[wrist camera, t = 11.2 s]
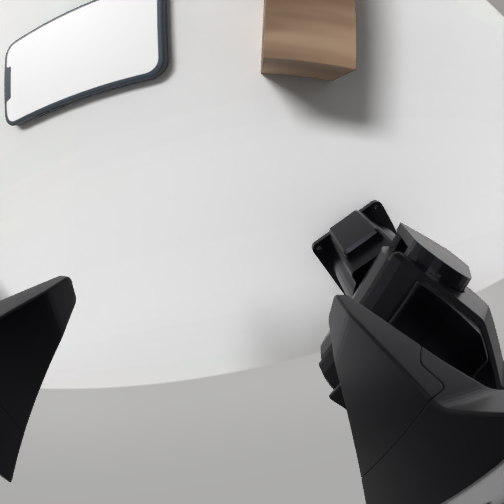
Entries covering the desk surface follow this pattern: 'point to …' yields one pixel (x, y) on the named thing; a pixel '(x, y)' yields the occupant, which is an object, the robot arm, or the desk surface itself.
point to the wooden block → (309, 38)
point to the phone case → (84, 55)
